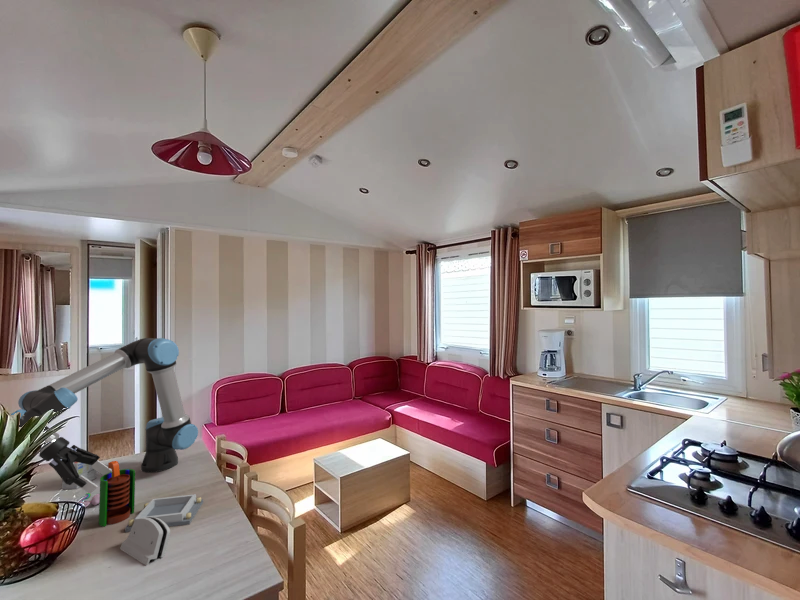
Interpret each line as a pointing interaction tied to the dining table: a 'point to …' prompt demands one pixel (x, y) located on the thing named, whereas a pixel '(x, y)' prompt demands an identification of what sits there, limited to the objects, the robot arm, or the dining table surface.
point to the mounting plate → (170, 510)
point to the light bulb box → (82, 470)
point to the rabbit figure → (94, 500)
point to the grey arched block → (147, 539)
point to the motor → (116, 495)
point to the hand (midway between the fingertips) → (102, 481)
